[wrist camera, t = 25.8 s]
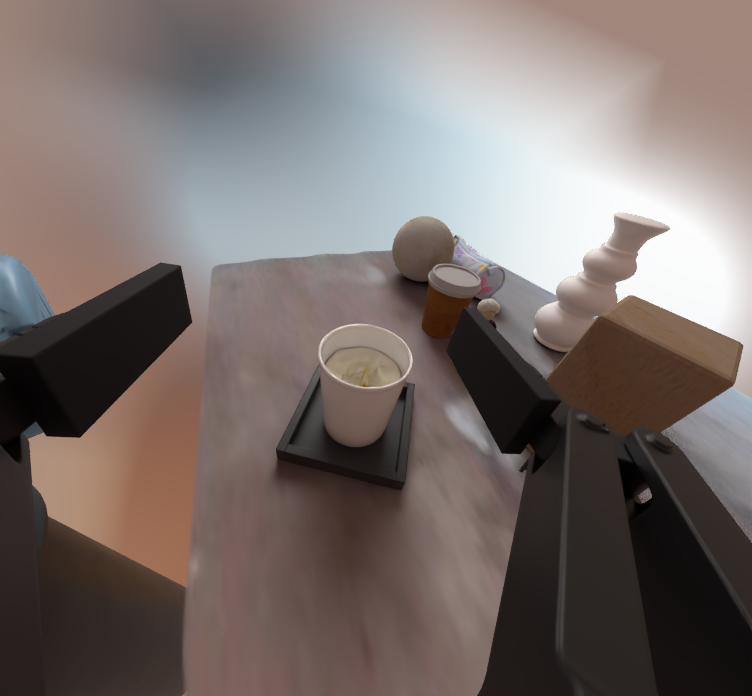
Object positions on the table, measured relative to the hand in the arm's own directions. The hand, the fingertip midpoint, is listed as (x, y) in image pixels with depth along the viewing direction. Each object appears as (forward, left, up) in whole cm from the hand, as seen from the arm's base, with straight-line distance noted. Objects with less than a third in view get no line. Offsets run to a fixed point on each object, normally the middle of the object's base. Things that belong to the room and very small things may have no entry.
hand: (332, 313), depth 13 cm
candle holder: (+1, +10, -23) cm, 25 cm away
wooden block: (+29, +15, -24) cm, 40 cm away
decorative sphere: (+6, +57, -24) cm, 62 cm away
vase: (+37, +41, -24) cm, 60 cm away
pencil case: (+19, +61, -24) cm, 68 cm away
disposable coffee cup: (+12, +36, -24) cm, 45 cm away
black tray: (+1, +10, -23) cm, 25 cm away
